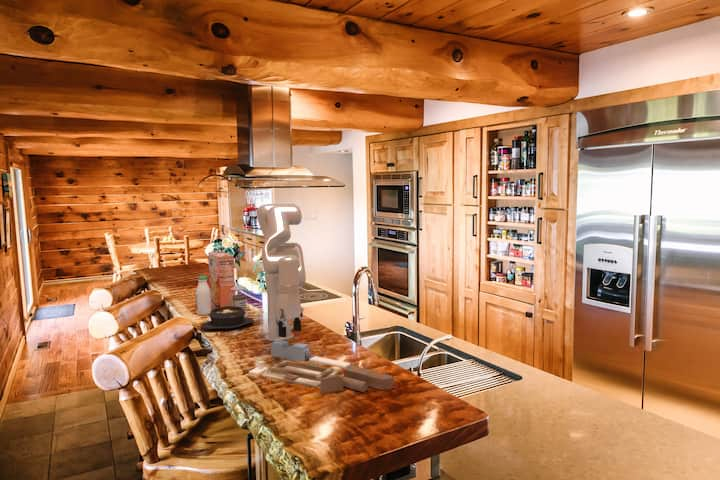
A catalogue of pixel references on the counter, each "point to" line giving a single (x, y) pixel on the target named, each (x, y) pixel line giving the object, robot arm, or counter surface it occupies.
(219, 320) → the casserole
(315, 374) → the jig
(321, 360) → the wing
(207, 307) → the milk bottle
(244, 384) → the counter surface
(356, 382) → the wooden block set
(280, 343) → the notched grey stepped bar
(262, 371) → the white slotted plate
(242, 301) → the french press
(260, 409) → the counter surface
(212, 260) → the pasta box
